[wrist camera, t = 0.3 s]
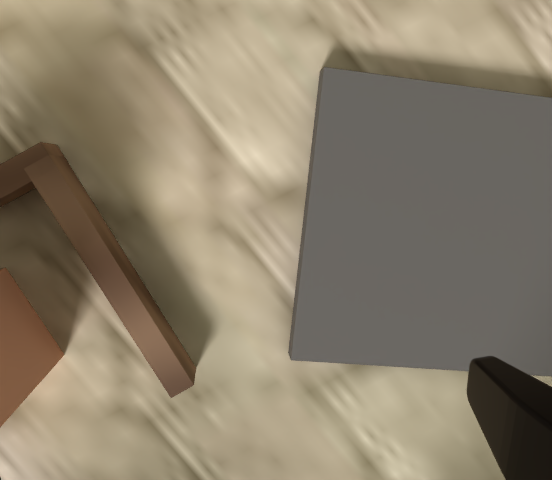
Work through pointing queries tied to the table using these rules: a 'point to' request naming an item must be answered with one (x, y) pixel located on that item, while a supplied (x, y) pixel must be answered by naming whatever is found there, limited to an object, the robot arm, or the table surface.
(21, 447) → the table surface
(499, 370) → the robot arm
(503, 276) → the rubber mat
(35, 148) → the walnut bay
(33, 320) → the terracotta block
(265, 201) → the table surface
